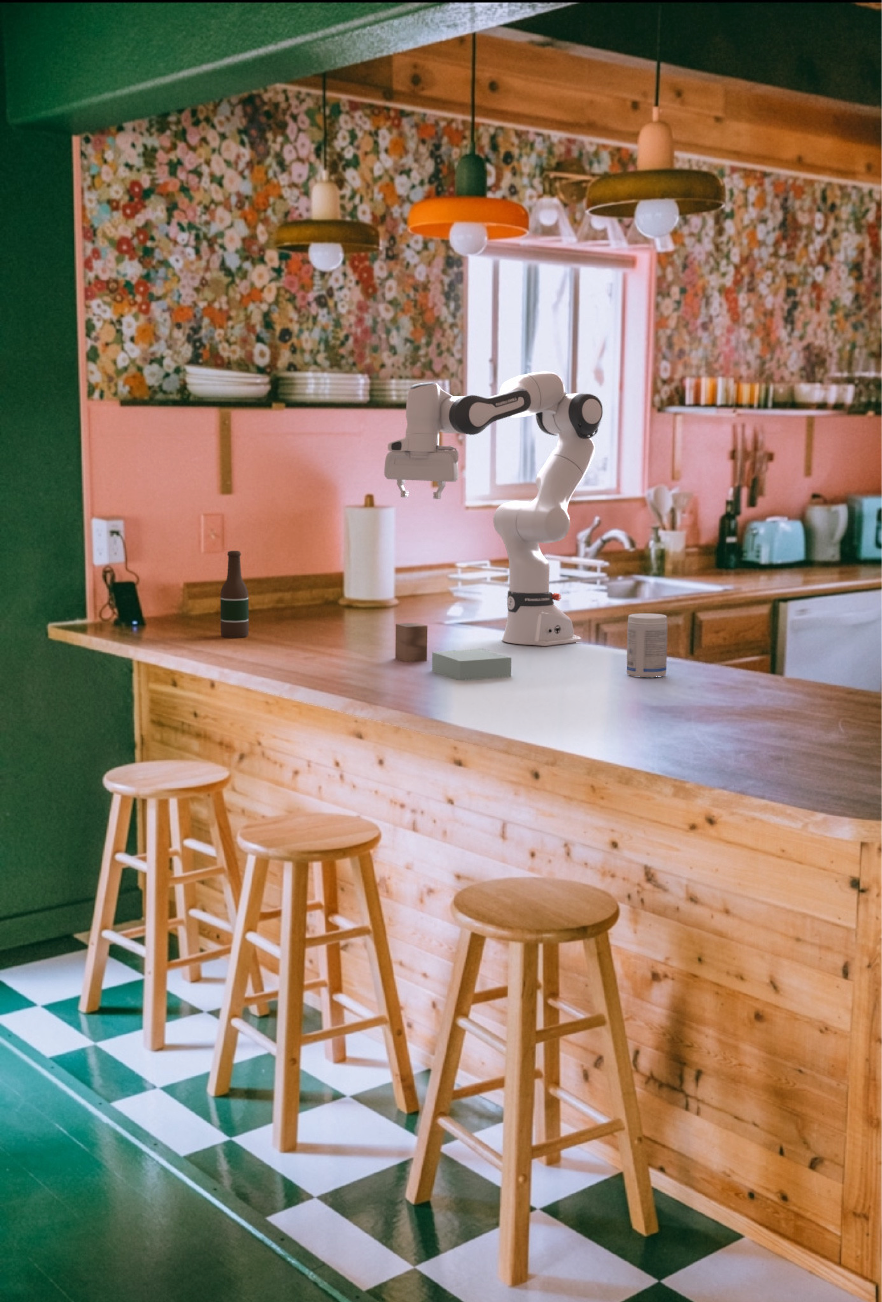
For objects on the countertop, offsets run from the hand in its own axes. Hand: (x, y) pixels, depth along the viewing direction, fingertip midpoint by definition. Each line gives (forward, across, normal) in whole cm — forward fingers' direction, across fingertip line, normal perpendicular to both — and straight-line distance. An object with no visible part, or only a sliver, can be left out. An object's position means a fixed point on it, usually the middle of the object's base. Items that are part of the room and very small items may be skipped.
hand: (420, 498), depth 350 cm
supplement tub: (+40, -65, +8) cm, 77 cm away
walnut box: (+40, -6, +15) cm, 44 cm away
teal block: (+41, -27, +27) cm, 56 cm away
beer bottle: (+41, +54, +4) cm, 68 cm away
